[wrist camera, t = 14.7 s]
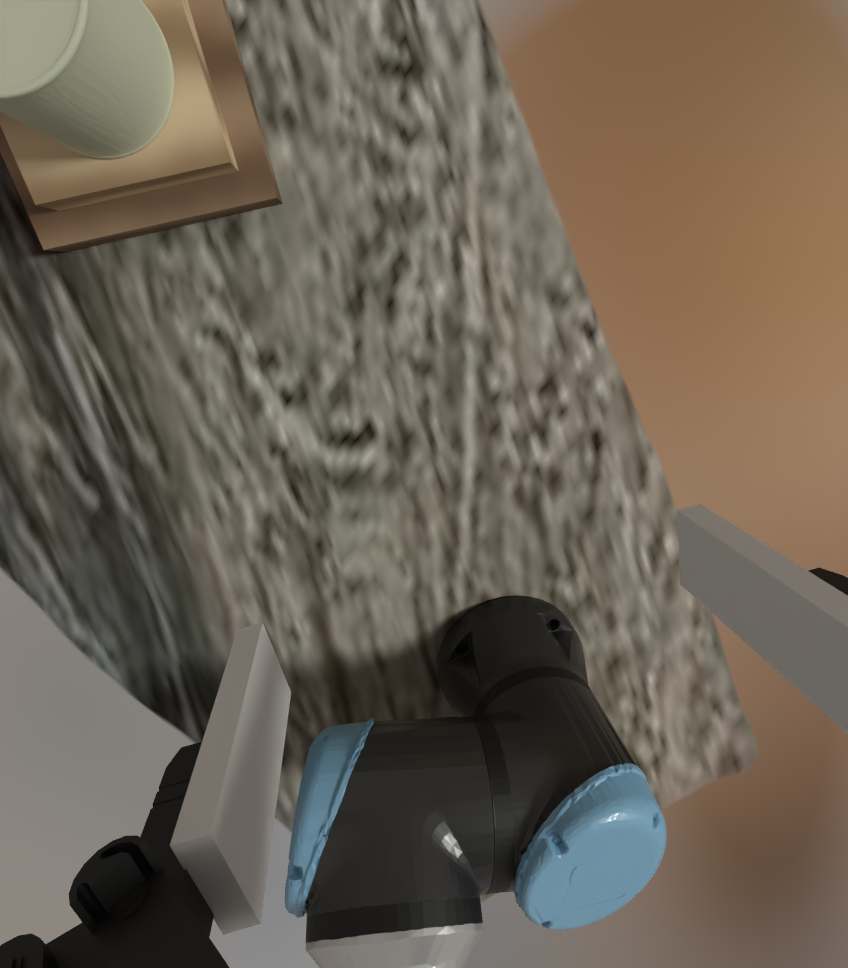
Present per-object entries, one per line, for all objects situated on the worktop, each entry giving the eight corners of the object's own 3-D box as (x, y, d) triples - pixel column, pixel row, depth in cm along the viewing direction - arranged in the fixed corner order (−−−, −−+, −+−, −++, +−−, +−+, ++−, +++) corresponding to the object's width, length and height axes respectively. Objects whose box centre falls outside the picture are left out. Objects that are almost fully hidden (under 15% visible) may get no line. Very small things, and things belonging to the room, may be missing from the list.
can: (-41, 36, 29) (-275, -113, 18) (84, -80, 28) (-82, -310, 17) (93, 193, 33) (-36, 148, 22) (209, 94, 32) (136, -6, 21)
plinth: (282, 203, 40) (272, 190, 34) (65, 252, 39) (18, 247, 33) (203, -78, 34) (175, -149, 28) (-56, -27, 33) (-138, -90, 27)
